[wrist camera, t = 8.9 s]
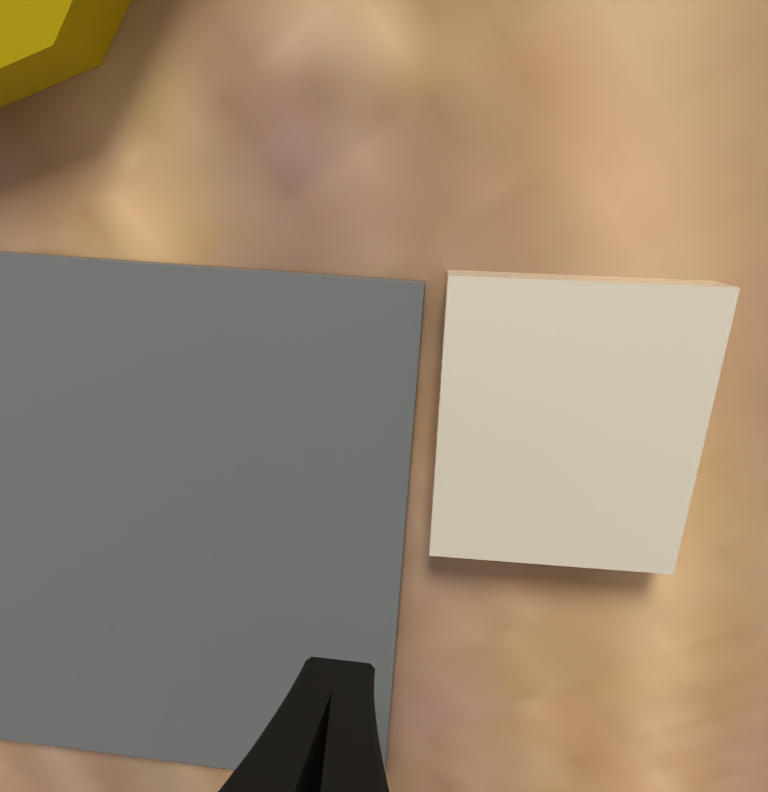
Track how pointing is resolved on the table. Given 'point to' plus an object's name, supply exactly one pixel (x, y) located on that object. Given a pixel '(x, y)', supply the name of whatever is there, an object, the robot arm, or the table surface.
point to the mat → (195, 496)
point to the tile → (573, 416)
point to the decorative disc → (52, 41)
